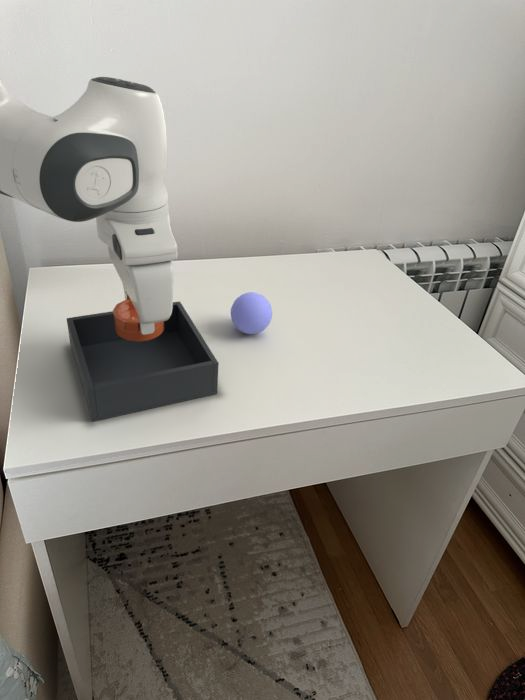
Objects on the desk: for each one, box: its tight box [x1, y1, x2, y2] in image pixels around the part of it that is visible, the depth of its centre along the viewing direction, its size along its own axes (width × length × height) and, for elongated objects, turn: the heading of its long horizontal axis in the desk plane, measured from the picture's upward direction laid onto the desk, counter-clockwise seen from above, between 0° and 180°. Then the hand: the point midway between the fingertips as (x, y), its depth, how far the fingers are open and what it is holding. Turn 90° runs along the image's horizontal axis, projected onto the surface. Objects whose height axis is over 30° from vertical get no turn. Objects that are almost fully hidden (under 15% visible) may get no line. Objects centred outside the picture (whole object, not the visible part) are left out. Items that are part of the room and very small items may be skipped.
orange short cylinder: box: [112, 299, 164, 341], centre depth 75 cm, size 7×7×3 cm
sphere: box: [230, 291, 273, 335], centre depth 89 cm, size 7×7×7 cm
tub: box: [66, 301, 219, 423], centre depth 78 cm, size 18×18×6 cm
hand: (139, 316), depth 74 cm, fingers closed on orange short cylinder, 7 cm apart
